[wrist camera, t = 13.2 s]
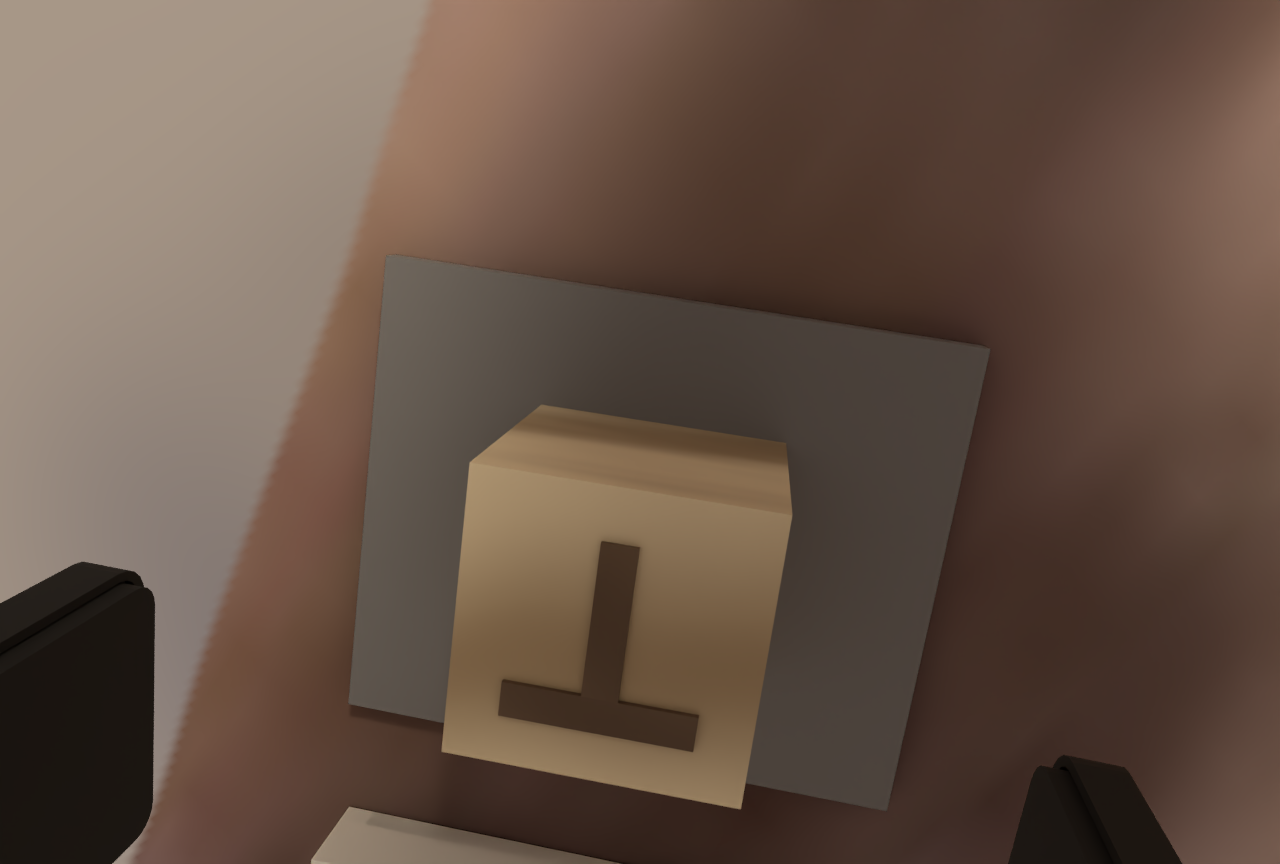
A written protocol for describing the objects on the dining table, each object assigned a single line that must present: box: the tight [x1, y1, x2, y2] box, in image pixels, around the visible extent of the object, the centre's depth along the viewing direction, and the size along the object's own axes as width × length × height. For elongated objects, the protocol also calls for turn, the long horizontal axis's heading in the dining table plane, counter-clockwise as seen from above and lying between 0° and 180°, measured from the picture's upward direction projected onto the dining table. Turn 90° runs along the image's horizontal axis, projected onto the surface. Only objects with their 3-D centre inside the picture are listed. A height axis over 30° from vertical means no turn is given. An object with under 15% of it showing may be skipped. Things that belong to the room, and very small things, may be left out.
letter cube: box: [441, 405, 792, 809], centre depth 18 cm, size 5×5×5 cm
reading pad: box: [348, 255, 991, 811], centre depth 21 cm, size 10×12×1 cm
